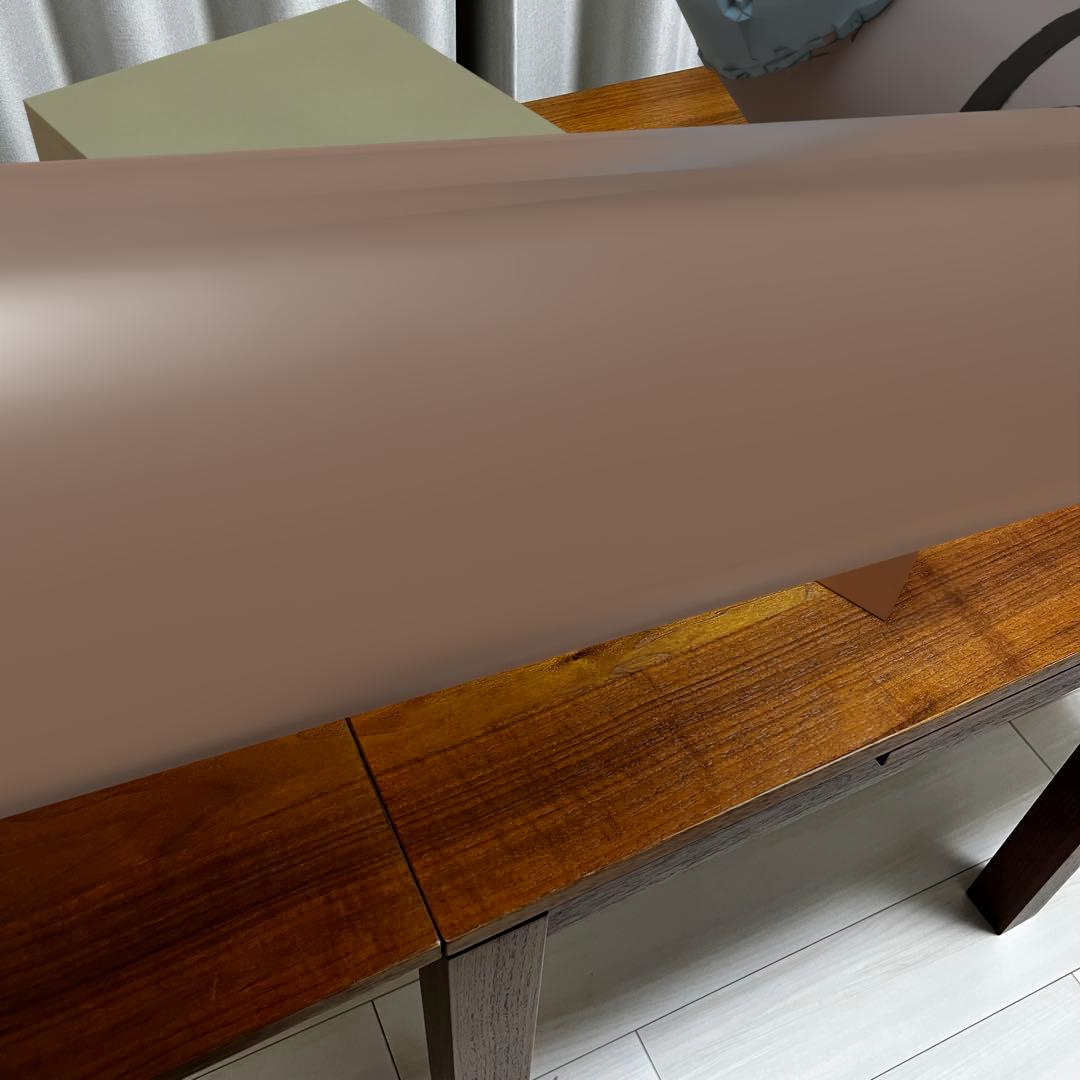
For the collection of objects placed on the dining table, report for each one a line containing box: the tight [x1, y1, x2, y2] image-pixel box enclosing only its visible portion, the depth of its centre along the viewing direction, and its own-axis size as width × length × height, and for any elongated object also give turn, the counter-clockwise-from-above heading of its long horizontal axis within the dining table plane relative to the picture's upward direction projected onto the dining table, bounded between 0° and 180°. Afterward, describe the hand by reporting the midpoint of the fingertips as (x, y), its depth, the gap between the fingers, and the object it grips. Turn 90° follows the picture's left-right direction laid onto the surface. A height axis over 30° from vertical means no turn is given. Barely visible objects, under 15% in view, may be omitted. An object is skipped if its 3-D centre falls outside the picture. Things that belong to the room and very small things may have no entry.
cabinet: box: [22, 0, 567, 162], centre depth 84 cm, size 28×26×24 cm
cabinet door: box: [815, 550, 921, 621], centre depth 80 cm, size 7×26×24 cm, turn 52°
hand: (272, 355), depth 57 cm, fingers open, 13 cm apart
